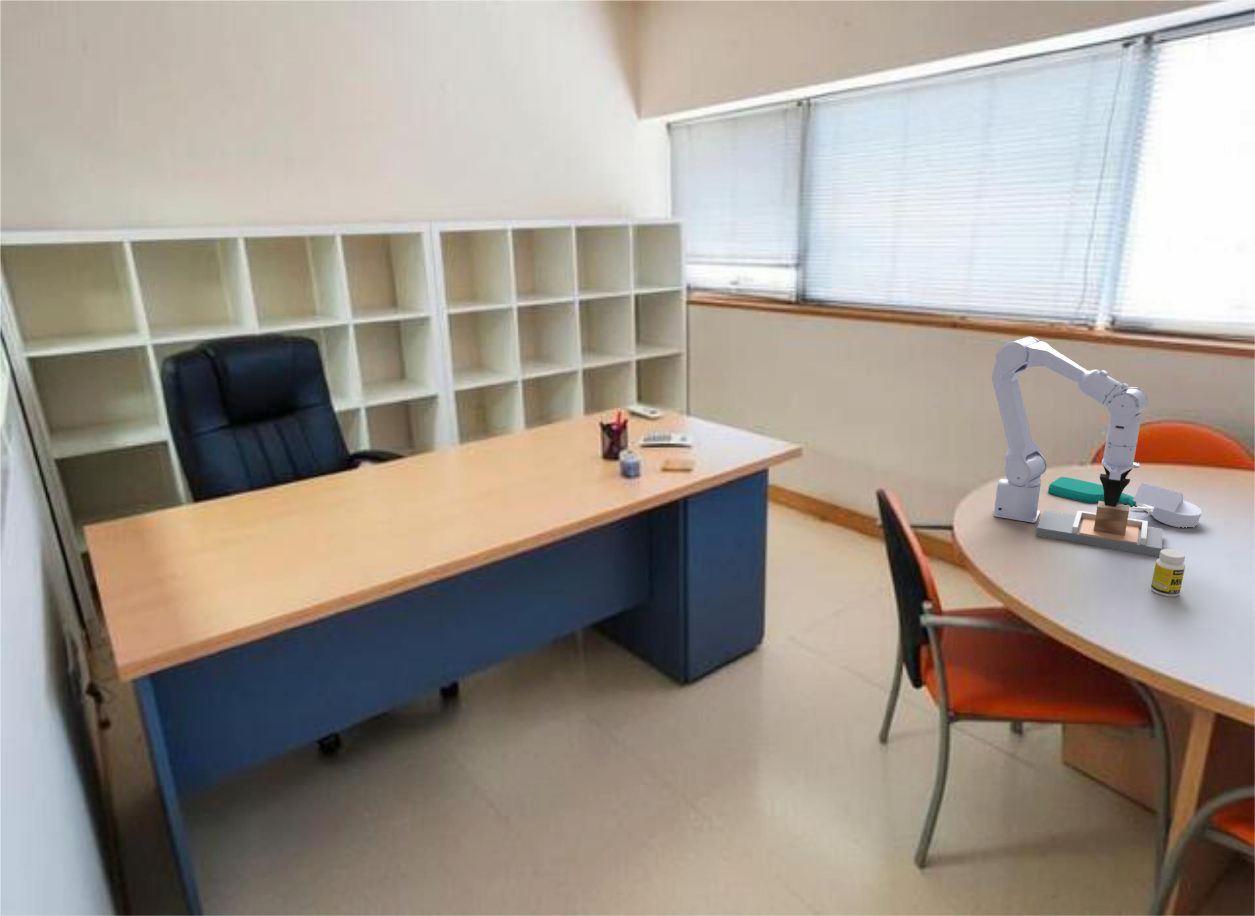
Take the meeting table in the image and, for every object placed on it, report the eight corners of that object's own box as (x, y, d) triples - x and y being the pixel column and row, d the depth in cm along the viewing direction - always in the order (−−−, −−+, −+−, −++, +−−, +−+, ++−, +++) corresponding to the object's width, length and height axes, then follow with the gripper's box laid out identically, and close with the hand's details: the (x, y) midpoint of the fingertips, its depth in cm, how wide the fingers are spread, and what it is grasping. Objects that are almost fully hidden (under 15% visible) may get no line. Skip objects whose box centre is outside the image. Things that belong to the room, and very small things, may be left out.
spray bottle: (1060, 484, 206) (1164, 508, 188) (1044, 495, 199) (1150, 521, 181) (1062, 474, 205) (1167, 497, 187) (1045, 484, 198) (1153, 509, 180)
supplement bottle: (1170, 599, 145) (1178, 560, 142) (1145, 589, 149) (1152, 551, 146) (1184, 593, 147) (1192, 554, 144) (1159, 583, 151) (1166, 545, 148)
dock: (1036, 535, 175) (1037, 521, 174) (1043, 517, 184) (1044, 504, 183) (1160, 557, 162) (1163, 542, 161) (1161, 536, 171) (1163, 522, 170)
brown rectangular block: (1093, 530, 170) (1097, 506, 169) (1094, 524, 174) (1098, 500, 172) (1124, 536, 167) (1128, 511, 165) (1125, 529, 170) (1129, 505, 168)
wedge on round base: (1128, 513, 181) (1192, 532, 173) (1136, 488, 178) (1201, 506, 170) (1138, 501, 187) (1201, 519, 178) (1146, 477, 184) (1210, 493, 176)
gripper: (1141, 454, 157) (1130, 514, 161) (1144, 436, 168) (1134, 492, 172) (1102, 450, 161) (1092, 508, 165) (1107, 432, 172) (1098, 487, 176)
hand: (1111, 500), depth 169 cm, fingers open, 7 cm apart
